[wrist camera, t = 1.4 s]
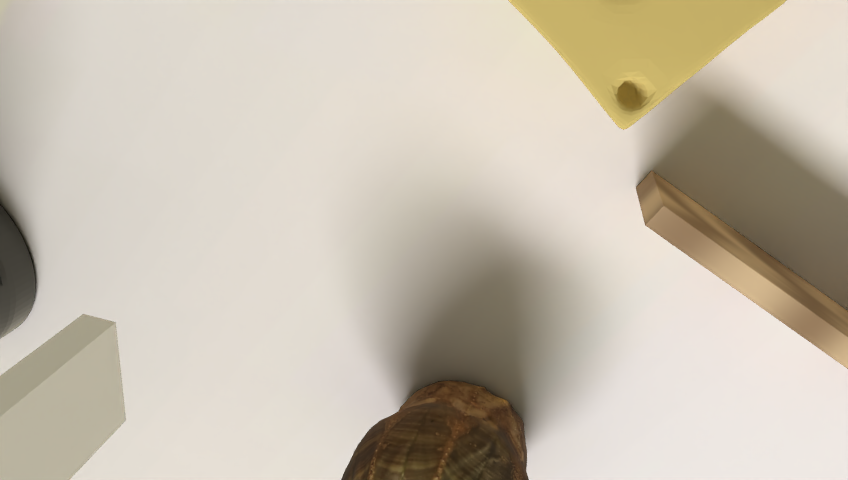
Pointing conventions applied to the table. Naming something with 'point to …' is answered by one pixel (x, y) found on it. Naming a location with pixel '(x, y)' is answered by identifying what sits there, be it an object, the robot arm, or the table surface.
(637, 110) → the cheese
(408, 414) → the shell
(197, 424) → the table surface
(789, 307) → the corral
